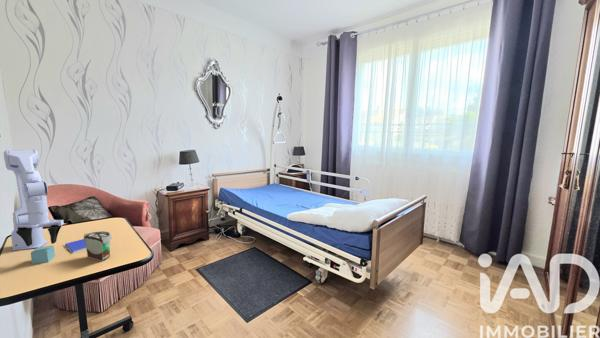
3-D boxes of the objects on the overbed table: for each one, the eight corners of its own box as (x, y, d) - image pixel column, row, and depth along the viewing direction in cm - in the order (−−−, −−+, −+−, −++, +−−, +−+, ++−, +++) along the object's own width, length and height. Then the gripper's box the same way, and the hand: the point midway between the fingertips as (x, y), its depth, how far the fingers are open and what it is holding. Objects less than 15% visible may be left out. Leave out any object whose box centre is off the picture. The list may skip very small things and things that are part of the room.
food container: (120, 255, 108) (118, 233, 107) (105, 262, 103) (103, 239, 101) (100, 250, 112) (98, 229, 111) (85, 256, 107) (83, 234, 105)
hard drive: (95, 244, 115) (87, 237, 122) (72, 251, 109) (64, 243, 116) (96, 247, 116) (87, 241, 123) (73, 254, 109) (65, 246, 116)
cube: (32, 264, 100) (30, 252, 99) (39, 258, 104) (38, 247, 103) (48, 262, 101) (46, 250, 101) (55, 256, 106) (53, 245, 105)
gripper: (6, 216, 94) (11, 250, 95) (55, 213, 99) (59, 245, 101) (19, 211, 100) (23, 243, 102) (64, 208, 105) (68, 238, 107)
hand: (41, 243), depth 102 cm, fingers open, 7 cm apart
